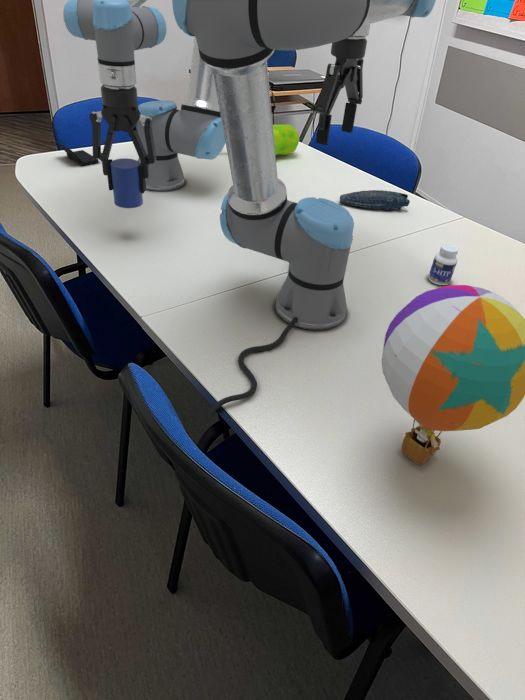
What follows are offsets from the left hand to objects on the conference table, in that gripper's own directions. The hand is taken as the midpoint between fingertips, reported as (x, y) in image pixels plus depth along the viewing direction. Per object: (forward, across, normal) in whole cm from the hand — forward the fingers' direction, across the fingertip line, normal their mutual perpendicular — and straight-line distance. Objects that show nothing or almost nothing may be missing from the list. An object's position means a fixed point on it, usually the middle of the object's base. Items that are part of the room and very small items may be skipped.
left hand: (127, 189), depth 125 cm
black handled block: (+12, -29, +50) cm, 60 cm away
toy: (+13, +60, -66) cm, 90 cm away
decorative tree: (+12, +30, +72) cm, 78 cm away
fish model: (+12, +67, +33) cm, 75 cm away
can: (+3, 0, 0) cm, 3 cm away
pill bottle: (+12, +77, -10) cm, 79 cm away
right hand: (-13, +49, +10) cm, 52 cm away
